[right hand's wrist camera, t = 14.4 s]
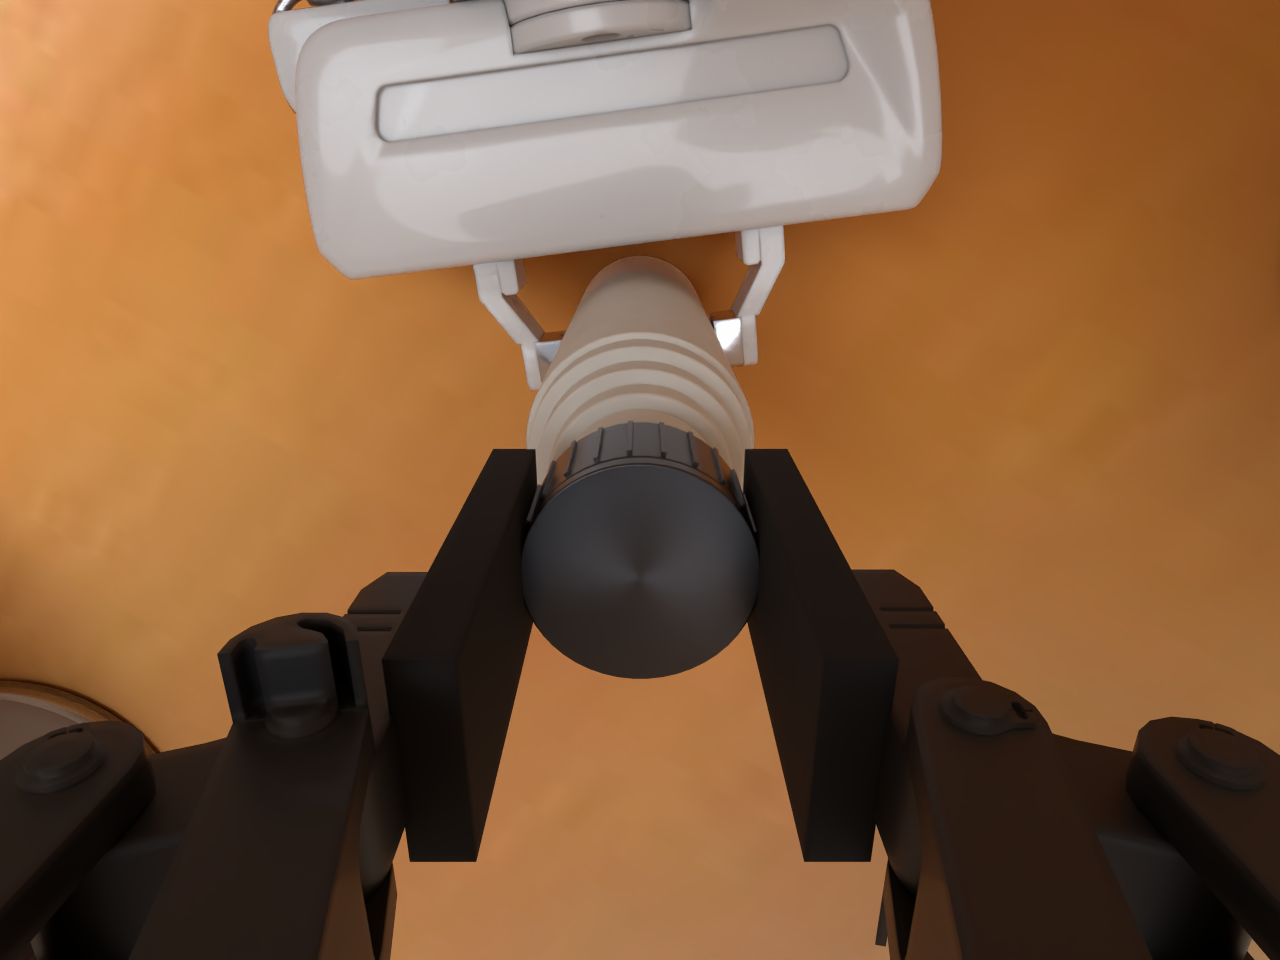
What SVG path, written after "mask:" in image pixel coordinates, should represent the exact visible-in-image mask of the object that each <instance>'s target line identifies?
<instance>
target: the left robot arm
mask: <svg viewBox="0 0 1280 960" xmlns="http://www.w3.org/2000/svg"><path fill="white" fill-rule="evenodd" d="M300 1H301V0H278V2H277V4H276V6H275V8H274V10H273V13H272V16H271V18H270V19H269V26H268V35H269V43H270V47H271V51H272V54H273V58H274V62H275V66H276V70H277V74H278V78H279V82H280V86H281V88H282V91H283V93H284V96H285V98H286V100H287V102H288V104H289V106H290V107H291V109H292V110H293V111H294V113H295V114H296V119H297V131H298V141H299V150H300V158H301V166H302V174H303V180H304V187H305V192H306V198H307V204H308V209H309V214H310V219H311V224H312V229H313V233H314V238H315V242H316V245H317V248H318V250H319V252H320V254H321V255H322V256H323V257H324V258H325V259H326V260H327V261H328V262H329V263H330V264H331V265H332V266H334V267H335V268H336V269H337V270H338V271H339V272H340V273H341V274H343V275H344V276H345V277H346V278H349V279H352V280H356V279H365V278H373V277H381V276H389V275H397V274H404V273H412V272H420V271H428V270H436V269H444V268H452V267H460V266H468V265H473V269H474V274H475V279H476V284H477V289H478V295H479V300H480V301H481V302H482V303H483V304H484V305H485V307H486V308H487V309H488V310H489V311H490V313H491V314H492V315H493V316H494V317H495V319H496V320H497V321H498V322H499V323H500V325H501V326H502V327H503V328H504V329H505V331H506V332H507V333H508V334H509V335H510V337H511V338H512V339H513V340H514V341H515V343H516V344H521V349H522V354H523V360H524V366H525V371H526V377H527V382H528V386H529V389H530V391H537V390H539V388H540V386H541V384H542V382H543V380H544V377H545V375H546V373H547V371H548V369H549V367H550V365H551V362H552V360H553V358H554V356H555V354H556V352H557V350H558V348H559V345H560V343H561V341H562V339H563V337H564V335H565V333H566V331H557V332H547V333H544V330H543V329H542V328H541V326H540V325H539V324H538V323H537V321H536V320H535V319H534V317H533V316H532V315H531V313H530V312H529V311H528V309H527V308H526V307H525V305H524V304H523V303H522V302H521V300H520V299H519V298H518V296H517V295H516V294H517V293H518V292H519V291H520V290H521V289H522V288H523V287H524V286H525V285H526V283H527V279H526V273H525V267H524V260H523V258H531V257H538V256H546V255H554V254H562V253H570V252H578V251H586V250H594V249H601V248H609V247H617V246H625V245H633V244H641V243H649V242H657V241H664V240H672V239H680V238H688V237H696V236H704V235H712V234H720V233H727V232H734V233H735V244H736V255H737V257H738V258H739V259H740V260H741V261H743V262H744V263H745V264H746V265H750V267H749V269H748V271H747V274H746V276H745V278H744V280H743V283H742V285H741V287H740V289H739V292H738V294H737V296H736V298H735V301H734V303H733V305H732V307H731V309H732V310H727V311H720V312H713V313H709V317H710V323H711V325H712V327H713V329H714V331H715V333H716V336H717V338H718V340H719V342H720V344H721V346H722V348H723V351H724V353H725V355H726V357H727V359H728V361H729V363H730V365H731V367H738V366H747V365H755V364H757V362H758V348H757V334H756V319H755V316H756V315H759V314H760V312H761V310H762V308H763V306H764V304H765V302H766V300H767V297H768V295H769V293H770V291H771V289H772V287H773V285H774V283H775V281H776V279H777V277H778V275H779V273H780V271H781V269H782V267H783V265H784V263H785V250H784V229H783V225H790V224H798V223H806V222H814V221H822V220H830V219H838V218H846V217H853V216H861V215H869V214H877V213H885V212H893V211H900V210H908V209H912V208H914V207H916V206H917V205H918V204H919V203H920V202H921V201H922V199H923V198H924V196H925V195H926V194H927V192H928V191H929V189H930V188H931V186H932V185H933V183H934V181H935V180H936V178H937V177H938V175H939V172H940V168H941V161H942V105H941V88H940V74H939V62H938V52H937V44H936V36H935V27H934V19H933V13H932V8H931V2H930V0H359V1H356V0H307V2H308V3H309V4H310V5H311V6H316V7H310V8H303V9H296V10H291V9H292V8H293V7H294V6H295V5H296V4H297V3H298V2H300ZM454 2H455V3H454Z"/></svg>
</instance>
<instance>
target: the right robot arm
mask: <svg viewBox="0 0 1280 960" xmlns="http://www.w3.org/2000/svg"><path fill="white" fill-rule="evenodd" d="M536 489H537V468H536V449H493V451H492V453H491V454H490V456H489V458H488V460H487V462H486V464H485V466H484V468H483V469H482V471H481V473H480V475H479V477H478V479H477V481H476V483H475V485H474V486H473V488H472V490H471V492H470V494H469V496H468V498H467V500H466V502H465V503H464V505H463V507H462V509H461V511H460V513H459V515H458V517H457V518H456V520H455V522H454V524H453V526H452V528H451V530H450V532H449V534H448V535H447V537H446V539H445V541H444V543H443V545H442V547H441V549H440V550H439V552H438V554H437V556H436V558H435V560H434V562H433V564H432V566H431V567H430V569H429V571H428V572H387V573H385V574H384V575H382V576H381V577H379V578H378V579H376V580H375V581H373V582H372V583H370V584H369V585H368V586H366V587H365V588H363V589H362V590H361V591H360V592H359V594H358V595H357V597H356V598H355V600H354V601H353V603H352V604H351V606H350V607H349V609H348V614H345V615H344V616H343V617H341V616H337V615H333V614H329V613H298V614H293V615H287V616H282V617H276V618H274V619H271V620H268V621H265V622H263V623H260V624H257V625H254V626H252V627H250V628H248V629H246V630H245V631H243V632H242V633H240V634H238V635H237V636H235V637H233V638H232V639H230V640H229V641H228V642H227V644H226V645H225V646H224V647H223V648H222V649H221V650H220V651H219V653H218V654H217V655H218V660H219V664H220V668H221V673H222V677H223V681H224V686H225V690H226V694H227V699H228V703H229V707H230V712H231V716H232V720H233V725H232V727H231V729H230V731H229V734H228V736H227V738H223V739H219V740H216V741H212V742H208V743H204V744H199V745H195V746H190V747H185V748H180V749H175V750H171V751H166V752H161V753H156V752H155V751H154V750H153V749H152V748H151V747H150V746H149V744H148V743H147V742H146V741H145V740H144V736H143V734H142V733H141V732H140V731H139V730H137V729H136V728H135V727H134V726H133V725H132V724H128V723H124V722H123V721H121V720H120V719H118V718H117V717H116V716H114V715H113V714H111V713H109V712H108V711H106V710H104V709H103V708H101V707H99V706H97V705H95V704H93V703H91V702H89V701H87V700H85V699H83V698H80V697H78V696H75V695H73V694H70V693H67V692H64V691H61V690H58V689H55V688H51V687H47V686H43V685H38V684H33V683H27V682H17V681H0V960H390V955H391V946H392V937H393V928H394V919H395V910H396V901H397V890H396V883H395V876H394V869H393V862H392V861H393V859H394V856H395V853H396V850H397V847H398V845H399V842H400V839H401V836H402V833H403V831H404V828H405V830H406V837H407V844H408V851H409V858H410V862H476V860H477V856H478V852H479V848H480V843H481V839H482V835H483V831H484V827H485V822H486V818H487V814H488V810H489V806H490V801H491V797H492V793H493V789H494V785H495V780H496V776H497V772H498V768H499V764H500V759H501V755H502V751H503V747H504V742H505V738H506V734H507V730H508V726H509V721H510V717H511V713H512V709H513V705H514V700H515V696H516V692H517V688H518V684H519V679H520V675H521V671H522V667H523V663H524V658H525V654H526V650H527V646H528V641H529V637H530V633H531V629H532V625H533V620H532V618H531V616H530V615H529V613H528V611H527V608H526V606H525V603H524V599H523V585H522V569H521V548H522V544H523V540H524V537H525V534H526V531H527V528H528V525H525V522H526V519H527V516H528V513H529V510H530V507H531V504H532V501H533V498H534V495H535V492H536ZM744 494H745V497H746V500H747V503H748V506H749V509H750V512H751V515H752V518H753V521H754V524H755V528H756V531H757V536H756V539H757V543H758V547H759V551H760V561H759V578H758V593H757V601H756V604H755V607H754V609H753V612H752V613H751V615H750V617H749V619H748V621H747V623H748V627H749V631H750V635H751V639H752V644H753V648H754V652H755V656H756V660H757V665H758V669H759V673H760V677H761V681H762V686H763V690H764V694H765V698H766V702H767V707H768V711H769V715H770V719H771V724H772V728H773V732H774V736H775V740H776V745H777V749H778V753H779V757H780V761H781V766H782V770H783V774H784V778H785V782H786V787H787V791H788V795H789V799H790V803H791V808H792V812H793V816H794V820H795V824H796V829H797V833H798V837H799V841H800V845H801V850H802V854H803V858H804V862H871V855H872V848H873V841H874V834H875V826H876V825H877V828H878V831H879V834H880V836H881V839H882V842H883V845H884V847H885V850H886V853H887V856H888V862H887V869H886V876H885V882H884V889H883V895H882V902H881V909H880V915H879V922H878V928H877V936H876V943H875V945H881V946H886V942H887V936H888V944H889V953H890V960H1254V959H1253V958H1252V956H1251V955H1250V954H1249V953H1248V952H1247V950H1248V947H1249V945H1250V942H1251V939H1253V940H1254V941H1255V942H1256V944H1257V945H1258V946H1259V947H1260V948H1261V949H1262V951H1263V952H1264V953H1265V954H1266V955H1267V956H1268V958H1269V959H1270V960H1280V755H1279V754H1277V753H1276V752H1274V751H1273V750H1271V749H1270V748H1268V747H1267V746H1265V745H1264V744H1262V743H1261V742H1259V741H1257V740H1255V739H1253V738H1251V737H1248V736H1246V735H1244V734H1242V733H1240V732H1238V731H1236V730H1234V729H1232V728H1230V727H1227V726H1224V725H1221V724H1218V723H1216V724H1214V723H1212V722H1210V721H1205V720H1200V719H1191V718H1180V717H1167V718H1162V719H1157V720H1151V721H1149V722H1148V723H1147V724H1146V725H1145V726H1144V727H1142V728H1141V729H1140V730H1139V732H1138V735H1137V739H1136V742H1135V746H1134V749H1133V752H1132V751H1127V750H1122V749H1117V748H1112V747H1107V746H1103V745H1098V744H1093V743H1088V742H1083V741H1078V740H1074V739H1070V738H1067V737H1063V736H1059V735H1056V734H1053V733H1052V732H1051V730H1050V728H1049V725H1048V723H1047V722H1046V720H1045V719H1044V718H1043V716H1042V715H1041V714H1040V712H1039V711H1038V710H1037V708H1036V707H1035V706H1034V705H1033V704H1031V703H1030V702H1028V701H1027V700H1026V699H1024V698H1023V697H1021V696H1020V695H1018V694H1017V693H1016V692H1014V691H1011V690H1009V689H1006V688H1004V687H1002V686H999V685H997V684H995V683H992V682H988V681H984V680H982V679H981V677H980V676H979V674H978V673H977V671H976V670H975V668H974V667H973V666H972V664H971V663H970V661H969V660H968V658H967V657H966V655H965V654H964V652H963V651H962V649H961V648H960V646H959V645H958V643H957V642H956V640H955V639H954V637H953V636H952V634H951V633H950V631H949V630H948V629H945V624H944V623H943V621H942V620H941V618H940V617H939V615H938V614H937V612H936V611H933V606H932V605H931V603H930V602H929V600H928V599H927V597H926V596H925V594H924V593H923V591H922V590H921V588H920V587H919V586H917V585H916V584H914V583H913V582H911V581H910V580H908V579H907V578H905V577H904V576H902V575H901V574H899V573H898V572H896V571H895V570H851V568H850V566H849V564H848V563H847V561H846V559H845V557H844V555H843V553H842V551H841V549H840V548H839V546H838V544H837V542H836V540H835V538H834V536H833V534H832V532H831V531H830V529H829V527H828V525H827V523H826V521H825V519H824V517H823V516H822V514H821V512H820V510H819V508H818V506H817V504H816V502H815V500H814V499H813V497H812V495H811V493H810V491H809V489H808V487H807V485H806V484H805V482H804V480H803V478H802V476H801V474H800V472H799V470H798V468H797V467H796V465H795V463H794V461H793V459H792V457H791V455H790V453H789V452H788V450H787V449H745V459H744V478H743V495H744Z"/></svg>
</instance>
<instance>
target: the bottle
mask: <svg viewBox="0 0 1280 960" xmlns="http://www.w3.org/2000/svg"><path fill="white" fill-rule="evenodd" d="M628 421H633V422H648V423H656V424H659V422H663V423H664V425H667V426H671V427H675V428H678V429H680V430H683V431H685V432H689V431H691V432H693V435H694V436H695V437H697V438H699V439H701V440H702V441H703V442H705V443H706V444H707V445H709V446H710V447H711V448H714V447H715V448H716V449H718V452H719V455H720V456H721V457H722V458H723V460H724V461H725V462H726V463H727V465H728V466H729V467H730V469H731V470H732V469H734V470H735V471H736V473H737V477H738V480H739V483H740V486H741V489H742V492H743V478H744V459H745V449H754V428H753V421H752V416H751V412H750V408H749V406H748V403H747V401H746V398H745V395H744V393H743V391H742V389H741V387H740V385H739V383H738V380H737V378H736V376H735V374H734V372H733V370H732V368H731V365H730V363H729V361H728V359H727V357H726V355H725V353H724V351H723V348H722V346H721V344H720V342H719V340H718V338H717V336H716V333H715V331H714V329H713V327H712V325H711V323H710V321H709V318H708V316H707V314H706V312H705V310H704V308H703V306H702V304H701V301H700V299H699V297H698V295H697V293H696V291H695V289H694V287H693V285H692V284H691V282H690V281H689V279H688V278H687V277H686V276H685V275H684V274H683V273H682V272H681V271H680V270H679V269H678V268H676V267H675V266H673V265H672V264H670V263H668V262H666V261H664V260H661V259H658V258H655V257H650V256H631V257H626V258H622V259H619V260H617V261H615V262H612V263H611V264H609V265H607V266H606V267H604V268H603V269H602V270H601V271H599V272H598V274H597V275H596V276H595V277H594V278H593V279H592V280H591V282H590V283H589V285H588V287H587V288H586V290H585V292H584V294H583V297H582V299H581V301H580V303H579V305H578V307H577V309H576V311H575V314H574V316H573V318H572V320H571V322H570V324H569V326H568V328H567V331H566V333H565V335H564V337H563V339H562V341H561V343H560V345H559V348H558V350H557V352H556V354H555V356H554V358H553V360H552V362H551V365H550V367H549V369H548V371H547V373H546V375H545V377H544V380H543V382H542V384H541V386H540V388H539V390H538V392H537V394H536V397H535V399H534V402H533V405H532V407H531V410H530V414H529V419H528V423H527V434H526V444H527V449H536V468H537V486H538V484H540V485H542V483H543V480H544V478H545V477H546V475H547V473H548V470H549V466H550V463H551V462H552V461H553V460H554V461H556V460H557V459H558V458H559V457H560V456H561V455H562V454H563V453H564V452H565V451H566V450H567V449H568V448H569V447H570V446H571V443H572V442H573V441H574V440H576V442H577V441H578V440H580V439H582V438H584V437H585V436H587V435H589V434H591V433H593V432H595V431H598V428H599V427H603V428H606V427H610V426H614V425H617V424H624V423H628Z"/></svg>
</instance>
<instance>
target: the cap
mask: <svg viewBox="0 0 1280 960" xmlns="http://www.w3.org/2000/svg"><path fill="white" fill-rule="evenodd" d="M525 525H528V528H527V531H526V534H525V537H524V540H523V544H522V548H521V569H522V585H523V599H524V603H525V606H526V608H527V611H528V613H529V615H530V616H531V618H532V620H533V622H534V624H535V625H536V627H537V628H538V629H539V631H540V632H541V633H542V635H543V636H544V637H545V638H546V639H547V640H548V641H549V642H550V643H551V644H552V645H553V646H554V647H555V648H556V649H557V650H559V651H560V652H561V653H562V654H564V655H565V656H567V657H568V658H570V659H571V660H573V661H575V662H576V663H578V664H580V665H582V666H584V667H586V668H589V669H591V670H594V671H597V672H600V673H603V674H607V675H611V676H616V677H622V678H632V679H649V678H658V677H665V676H669V675H674V674H678V673H681V672H684V671H686V670H689V669H692V668H694V667H696V666H698V665H700V664H702V663H704V662H706V661H708V660H709V659H711V658H712V657H714V656H715V655H717V654H718V653H719V652H721V651H722V650H723V649H724V648H725V647H727V646H728V645H729V644H730V643H731V642H732V641H733V640H734V638H735V637H736V636H737V635H738V634H739V633H740V631H741V630H742V628H743V627H744V626H745V624H746V623H747V621H748V619H749V617H750V615H751V613H752V612H753V609H754V607H755V604H756V601H757V593H758V578H759V561H760V551H759V547H758V543H757V539H756V536H757V531H756V528H755V524H754V521H753V518H752V515H751V512H750V509H749V506H748V503H747V500H746V497H745V494H744V495H743V492H742V489H741V486H740V483H739V480H738V477H737V473H736V471H735V470H734V469H732V470H731V469H730V467H729V466H728V465H727V463H726V462H725V461H724V460H723V458H722V457H721V456H720V455H719V452H718V449H716V448H715V447H714V448H711V447H710V446H709V445H707V444H706V443H705V442H703V441H702V440H701V439H699V438H697V437H695V436H694V435H693V432H691V431H689V432H685V431H683V430H680V429H678V428H675V427H671V426H667V425H664V423H663V422H659V424H656V423H648V422H633V421H628V423H624V424H617V425H614V426H610V427H606V428H603V427H599V428H598V431H595V432H593V433H591V434H589V435H587V436H585V437H584V438H582V439H580V440H578V441H577V442H576V440H574V441H573V442H572V443H571V446H570V447H569V448H568V449H567V450H566V451H565V452H564V453H563V454H562V455H561V456H560V457H559V458H558V459H557V460H556V461H554V460H553V461H552V462H551V463H550V466H549V470H548V473H547V475H546V477H545V478H544V480H543V483H542V485H540V484H538V486H537V489H536V492H535V495H534V498H533V501H532V504H531V507H530V510H529V513H528V516H527V519H526V522H525Z"/></svg>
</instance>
